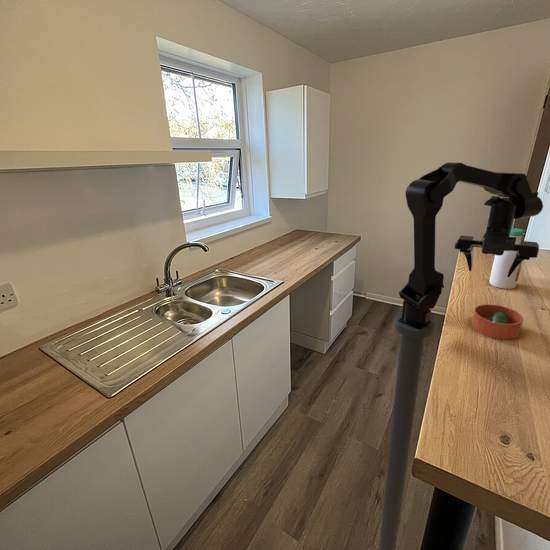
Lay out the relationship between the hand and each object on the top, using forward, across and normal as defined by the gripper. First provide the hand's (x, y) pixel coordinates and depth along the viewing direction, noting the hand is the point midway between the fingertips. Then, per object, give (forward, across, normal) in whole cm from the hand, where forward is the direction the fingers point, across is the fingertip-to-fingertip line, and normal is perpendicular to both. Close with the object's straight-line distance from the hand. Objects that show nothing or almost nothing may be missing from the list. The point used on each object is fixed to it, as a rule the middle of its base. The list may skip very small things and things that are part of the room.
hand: (488, 273), depth 88 cm
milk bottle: (+12, +4, +23) cm, 26 cm away
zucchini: (+11, +4, -10) cm, 15 cm away
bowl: (+12, +4, -9) cm, 16 cm away
